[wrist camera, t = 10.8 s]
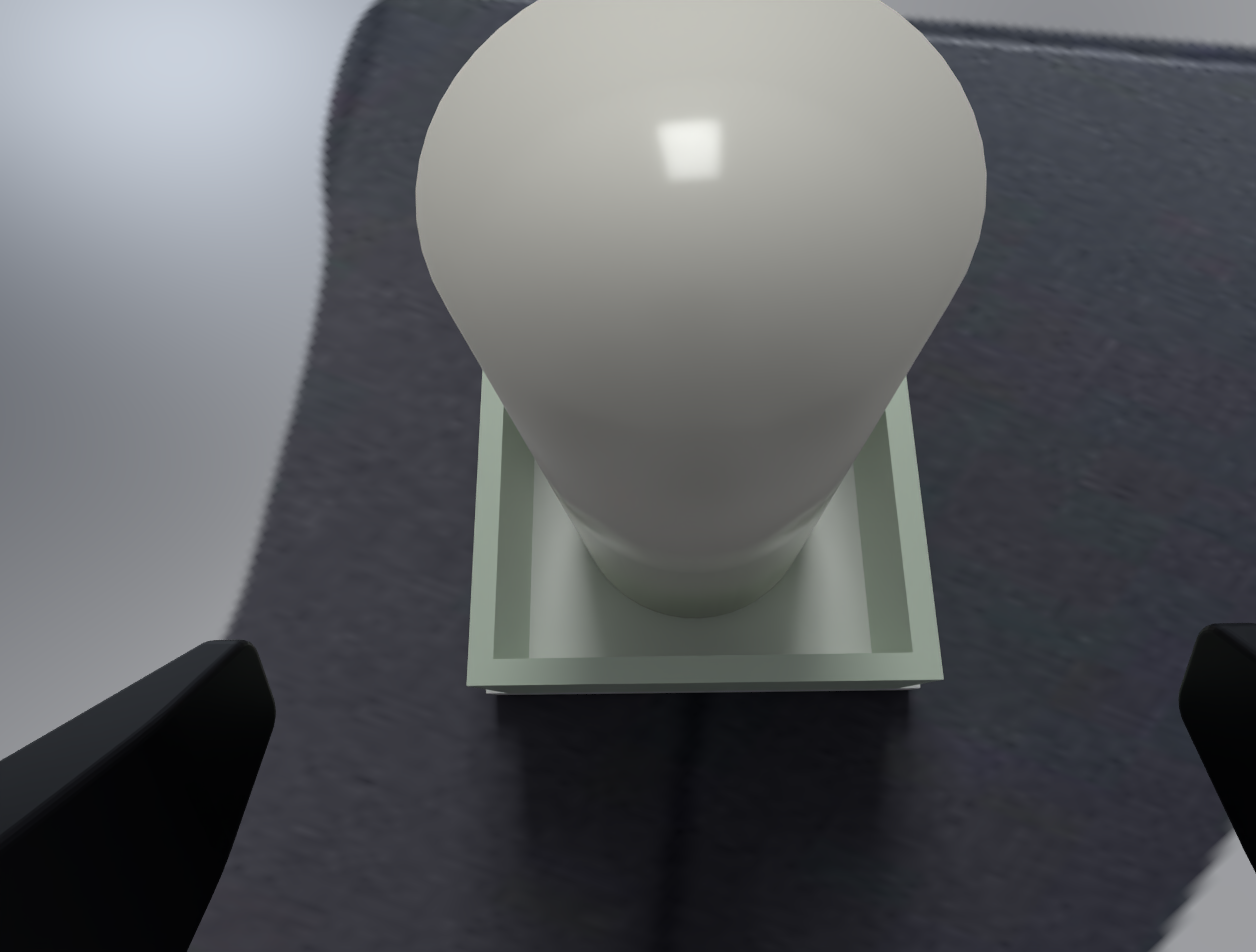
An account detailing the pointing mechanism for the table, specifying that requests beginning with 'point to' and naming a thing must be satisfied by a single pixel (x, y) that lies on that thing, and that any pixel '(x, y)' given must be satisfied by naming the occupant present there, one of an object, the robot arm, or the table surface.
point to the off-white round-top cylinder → (699, 262)
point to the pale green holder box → (714, 646)
